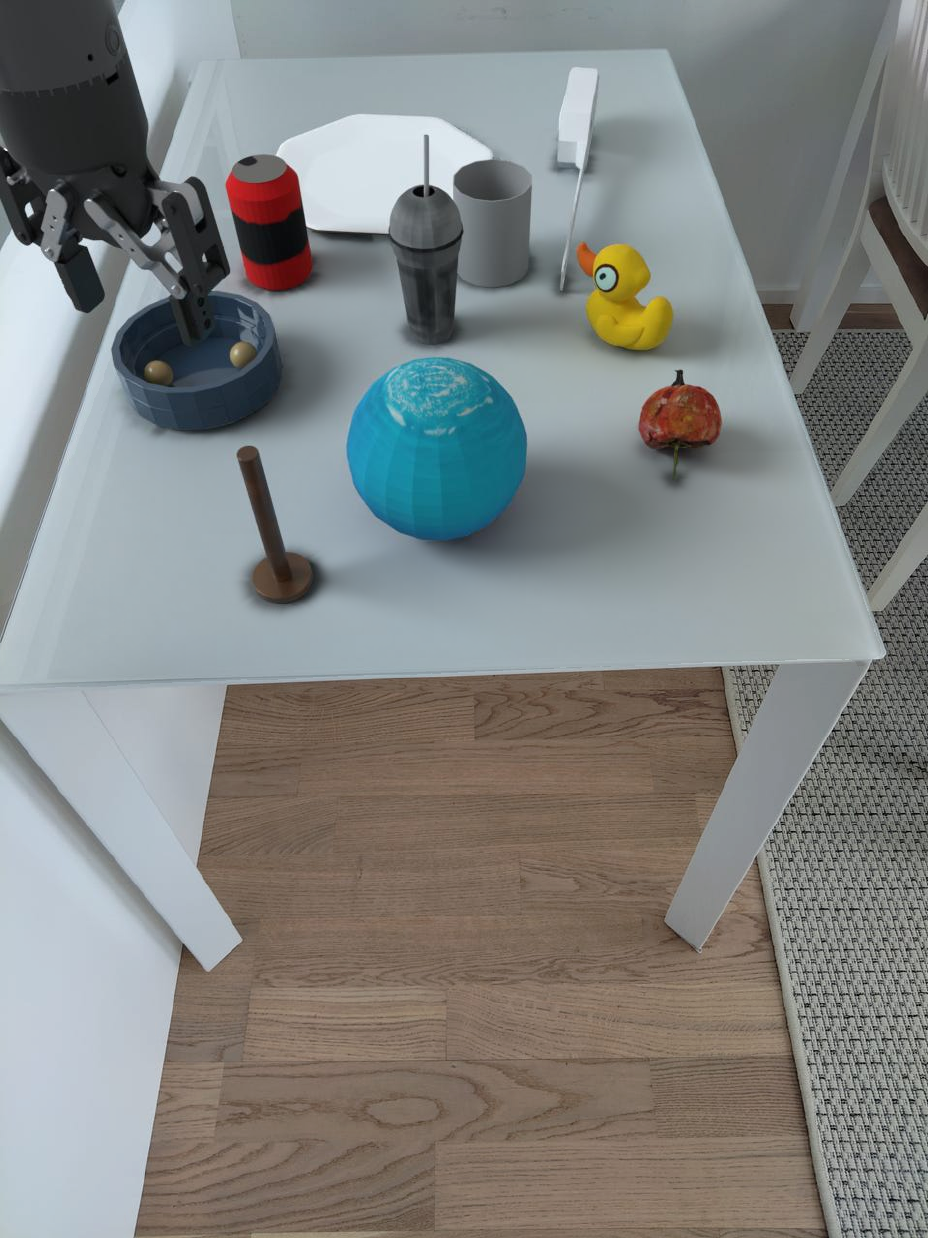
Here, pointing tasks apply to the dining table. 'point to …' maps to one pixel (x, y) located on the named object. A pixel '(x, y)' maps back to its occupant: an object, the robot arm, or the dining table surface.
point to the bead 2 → (242, 354)
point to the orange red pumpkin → (680, 418)
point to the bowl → (198, 364)
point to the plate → (373, 167)
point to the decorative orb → (437, 448)
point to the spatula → (576, 133)
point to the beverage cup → (427, 256)
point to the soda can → (269, 222)
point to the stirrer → (271, 539)
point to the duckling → (623, 298)
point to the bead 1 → (158, 373)
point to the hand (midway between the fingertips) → (145, 321)
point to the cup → (493, 221)
